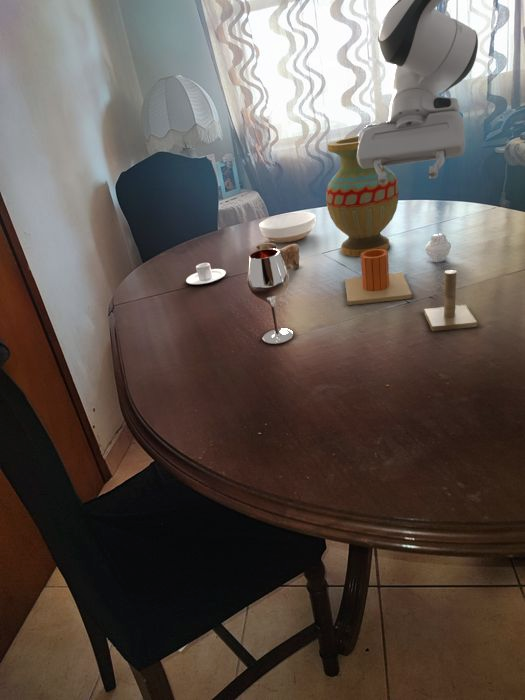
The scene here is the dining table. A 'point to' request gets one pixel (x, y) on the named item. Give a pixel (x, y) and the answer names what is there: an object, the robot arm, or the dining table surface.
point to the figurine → (285, 253)
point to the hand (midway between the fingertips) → (407, 179)
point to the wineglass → (269, 287)
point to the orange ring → (375, 269)
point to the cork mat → (394, 292)
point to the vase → (360, 200)
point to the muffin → (438, 248)
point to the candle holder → (205, 274)
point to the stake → (450, 309)
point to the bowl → (288, 226)
